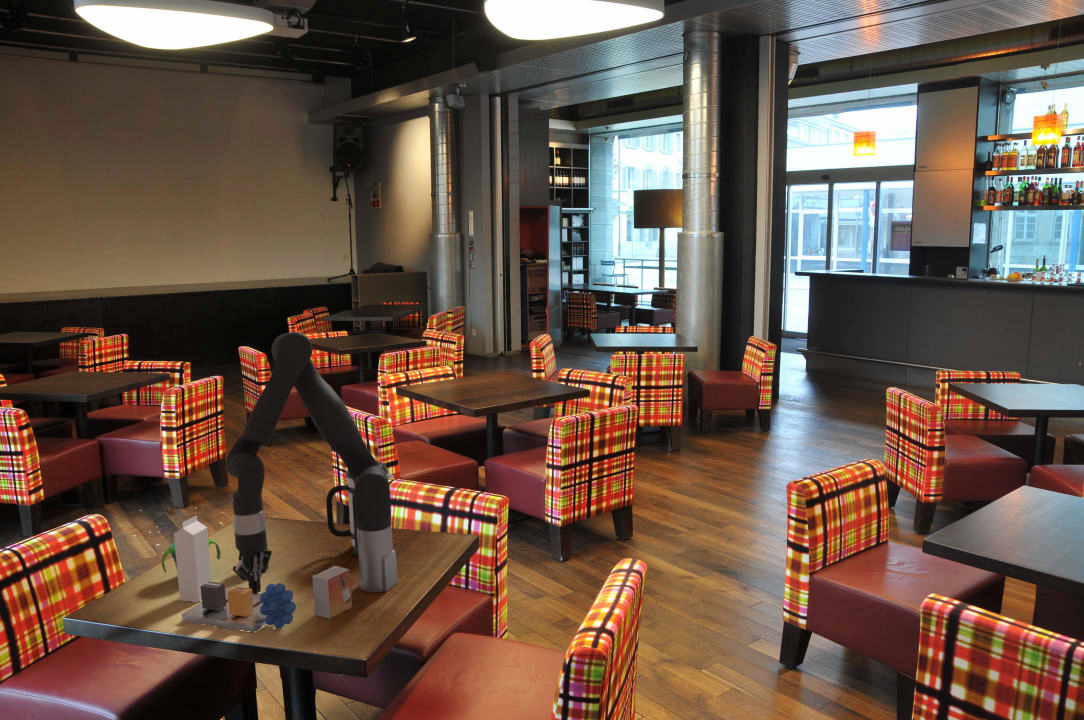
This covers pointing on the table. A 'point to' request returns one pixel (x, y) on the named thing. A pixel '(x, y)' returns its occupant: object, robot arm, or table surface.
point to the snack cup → (172, 551)
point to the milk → (192, 559)
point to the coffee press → (352, 509)
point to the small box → (332, 592)
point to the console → (227, 616)
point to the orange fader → (240, 601)
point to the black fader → (213, 596)
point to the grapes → (277, 605)
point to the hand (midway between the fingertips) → (255, 592)
